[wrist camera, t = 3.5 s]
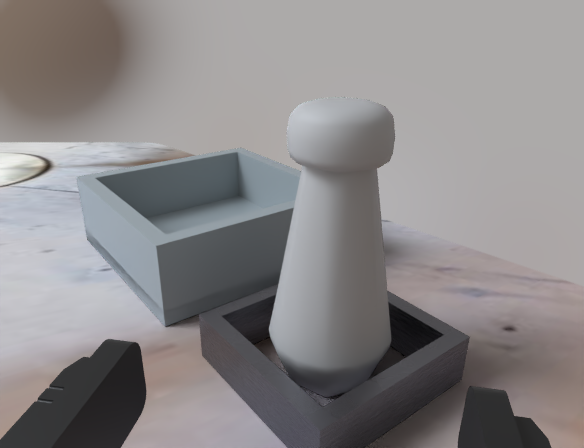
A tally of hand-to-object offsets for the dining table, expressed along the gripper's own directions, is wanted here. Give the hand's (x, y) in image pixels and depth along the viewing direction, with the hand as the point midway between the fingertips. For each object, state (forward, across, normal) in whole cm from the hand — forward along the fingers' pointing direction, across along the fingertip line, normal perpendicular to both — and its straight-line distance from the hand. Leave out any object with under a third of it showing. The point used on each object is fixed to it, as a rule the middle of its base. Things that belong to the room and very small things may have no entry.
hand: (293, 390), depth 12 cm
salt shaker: (+10, 0, +8) cm, 13 cm away
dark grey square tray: (+10, 0, +8) cm, 13 cm away
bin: (+22, +10, +8) cm, 25 cm away
